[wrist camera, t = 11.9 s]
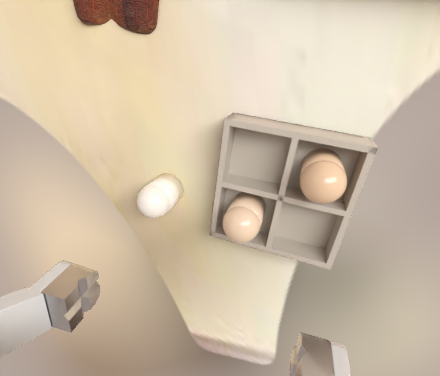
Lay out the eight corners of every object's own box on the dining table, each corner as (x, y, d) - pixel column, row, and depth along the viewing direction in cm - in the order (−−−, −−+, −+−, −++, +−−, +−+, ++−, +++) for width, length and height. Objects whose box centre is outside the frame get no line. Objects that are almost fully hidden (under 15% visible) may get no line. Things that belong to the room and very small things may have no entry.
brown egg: (297, 180, 30) (294, 205, 25) (306, 144, 28) (305, 163, 23) (335, 188, 29) (341, 216, 24) (348, 152, 27) (356, 174, 22)
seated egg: (230, 216, 34) (215, 244, 29) (235, 187, 32) (220, 211, 27) (262, 224, 33) (253, 255, 28) (269, 195, 32) (260, 222, 26)
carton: (218, 220, 36) (209, 235, 33) (233, 112, 30) (224, 118, 27) (328, 250, 33) (330, 269, 30) (370, 137, 27) (377, 147, 24)
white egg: (155, 197, 38) (129, 219, 32) (155, 170, 36) (128, 188, 31) (182, 204, 37) (161, 228, 31) (184, 177, 35) (162, 197, 30)
